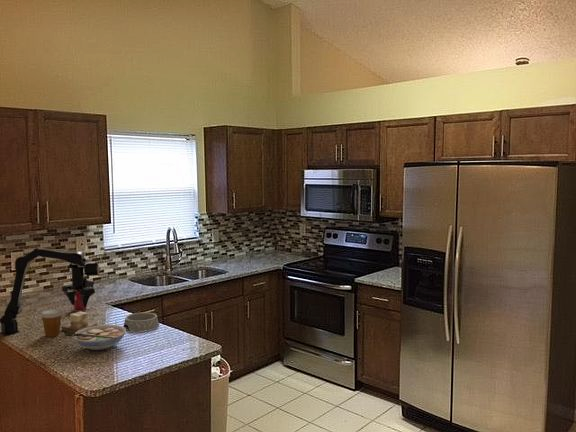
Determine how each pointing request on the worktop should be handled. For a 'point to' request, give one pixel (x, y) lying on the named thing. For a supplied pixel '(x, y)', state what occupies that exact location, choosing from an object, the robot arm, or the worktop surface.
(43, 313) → the disposable coffee cup
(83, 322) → the maple cube
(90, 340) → the ramen bowl
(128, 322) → the dog bowl
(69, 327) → the walnut board
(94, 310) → the worktop surface
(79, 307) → the soda can
